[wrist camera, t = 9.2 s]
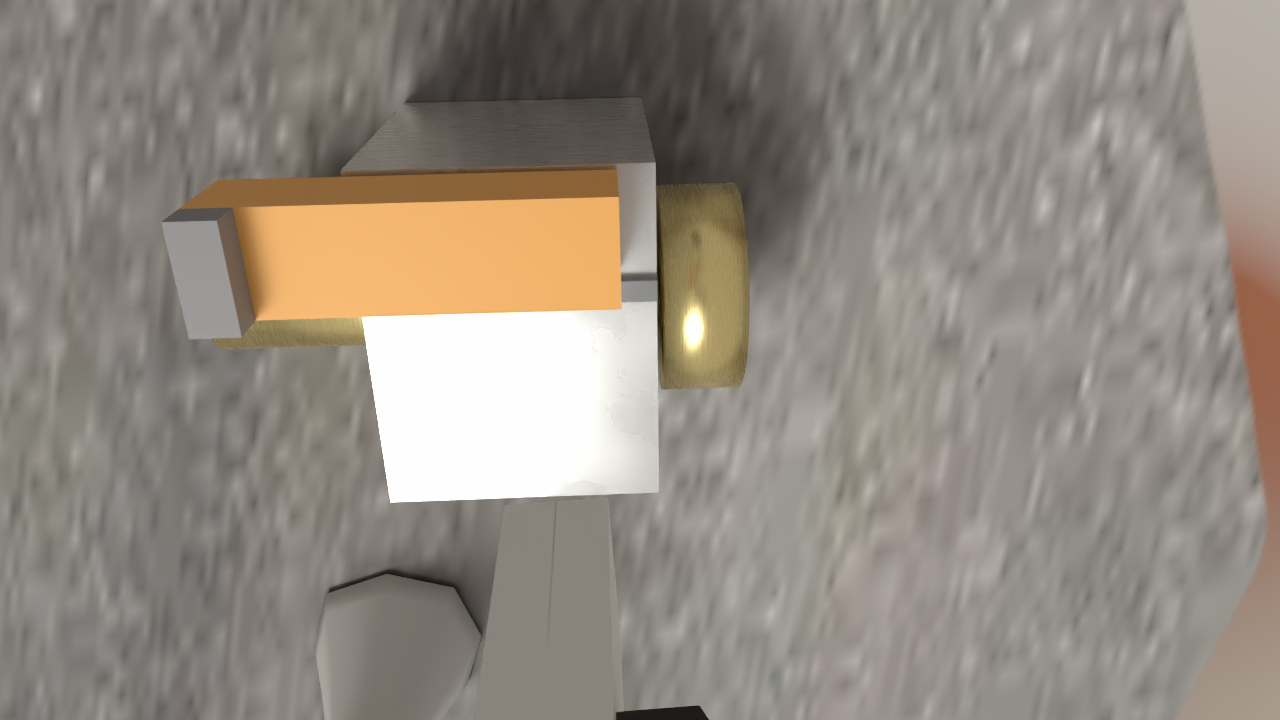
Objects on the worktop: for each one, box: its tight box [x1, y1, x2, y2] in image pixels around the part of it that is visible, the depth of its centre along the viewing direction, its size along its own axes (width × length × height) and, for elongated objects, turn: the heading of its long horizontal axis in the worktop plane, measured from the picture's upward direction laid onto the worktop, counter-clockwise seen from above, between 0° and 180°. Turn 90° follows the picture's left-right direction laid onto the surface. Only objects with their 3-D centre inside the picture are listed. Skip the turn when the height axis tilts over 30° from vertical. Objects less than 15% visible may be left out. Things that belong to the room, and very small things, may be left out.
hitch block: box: [340, 97, 659, 502], centre depth 31 cm, size 10×8×9 cm
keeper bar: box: [161, 169, 622, 339], centre depth 23 cm, size 3×10×4 cm, turn 91°
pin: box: [212, 183, 749, 389], centre depth 30 cm, size 6×16×6 cm, turn 91°
